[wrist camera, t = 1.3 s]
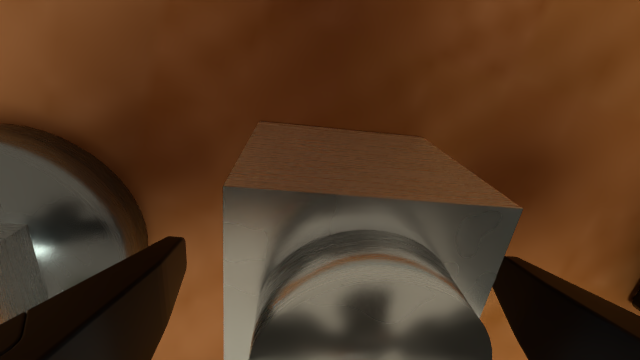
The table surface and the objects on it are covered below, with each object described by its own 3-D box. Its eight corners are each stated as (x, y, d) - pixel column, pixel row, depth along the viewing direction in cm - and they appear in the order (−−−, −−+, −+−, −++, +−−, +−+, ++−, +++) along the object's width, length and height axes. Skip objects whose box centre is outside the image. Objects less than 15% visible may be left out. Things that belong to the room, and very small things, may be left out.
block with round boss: (422, 137, 11) (587, 254, 5) (390, 268, 13) (475, 470, 7) (259, 121, 11) (198, 230, 4) (253, 261, 13) (208, 474, 6)
